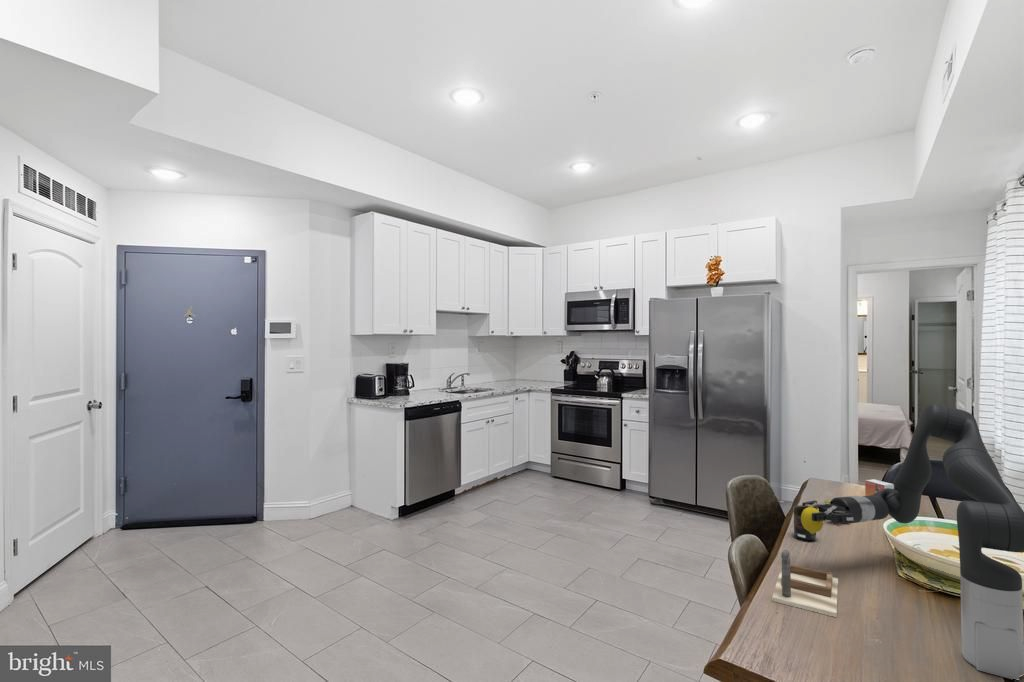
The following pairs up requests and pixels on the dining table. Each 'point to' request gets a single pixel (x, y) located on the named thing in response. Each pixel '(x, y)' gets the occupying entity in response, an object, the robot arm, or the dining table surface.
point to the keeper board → (806, 588)
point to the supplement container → (801, 529)
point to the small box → (876, 486)
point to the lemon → (810, 520)
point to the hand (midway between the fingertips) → (804, 513)
